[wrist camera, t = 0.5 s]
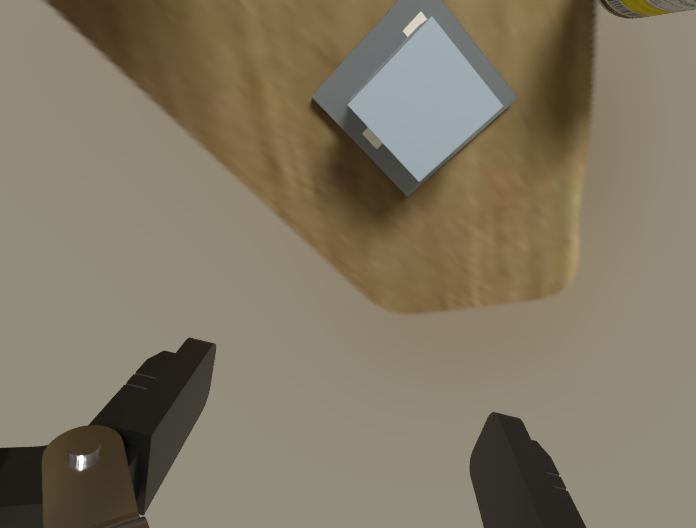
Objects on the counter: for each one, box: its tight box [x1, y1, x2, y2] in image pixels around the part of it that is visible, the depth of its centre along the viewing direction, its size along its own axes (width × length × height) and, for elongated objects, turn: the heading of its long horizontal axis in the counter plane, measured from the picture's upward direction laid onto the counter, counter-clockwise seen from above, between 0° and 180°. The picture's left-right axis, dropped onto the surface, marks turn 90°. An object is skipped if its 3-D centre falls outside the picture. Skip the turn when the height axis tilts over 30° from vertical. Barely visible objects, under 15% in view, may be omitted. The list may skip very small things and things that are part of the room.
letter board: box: [312, 0, 518, 197], centre depth 27 cm, size 9×9×1 cm
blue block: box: [348, 16, 503, 182], centre depth 24 cm, size 6×6×6 cm
